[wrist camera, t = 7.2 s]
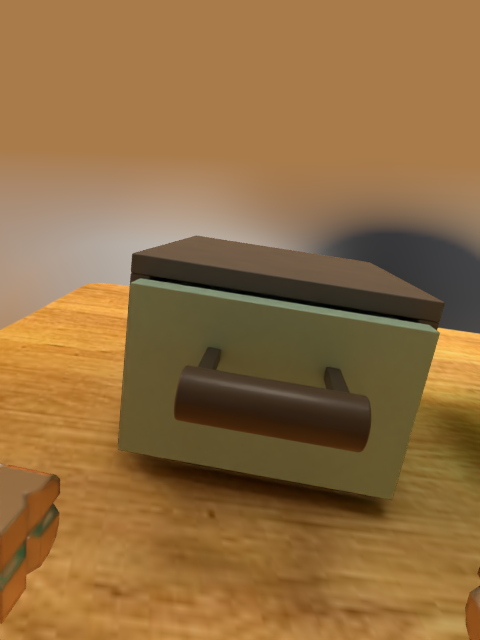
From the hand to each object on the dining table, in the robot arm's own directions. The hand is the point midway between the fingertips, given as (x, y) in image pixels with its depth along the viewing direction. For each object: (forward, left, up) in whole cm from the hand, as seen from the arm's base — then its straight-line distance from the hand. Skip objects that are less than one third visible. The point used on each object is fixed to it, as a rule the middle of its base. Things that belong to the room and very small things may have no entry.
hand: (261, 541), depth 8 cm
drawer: (0, +14, -5) cm, 15 cm away
